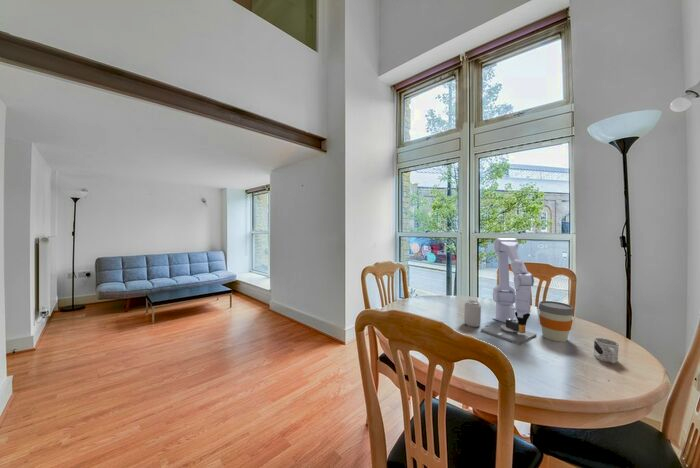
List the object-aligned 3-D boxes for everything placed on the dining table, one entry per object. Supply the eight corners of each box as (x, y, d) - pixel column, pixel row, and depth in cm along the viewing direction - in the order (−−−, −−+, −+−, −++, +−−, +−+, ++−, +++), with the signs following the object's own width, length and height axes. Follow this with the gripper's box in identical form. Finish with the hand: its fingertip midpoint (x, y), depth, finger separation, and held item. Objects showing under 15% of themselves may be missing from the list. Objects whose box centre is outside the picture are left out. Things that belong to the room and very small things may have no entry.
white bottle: (477, 322, 137) (477, 299, 137) (482, 328, 130) (483, 304, 130) (462, 321, 138) (462, 299, 138) (467, 327, 131) (467, 303, 130)
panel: (498, 324, 135) (498, 321, 135) (536, 336, 121) (536, 333, 121) (481, 331, 126) (481, 328, 126) (519, 345, 112) (519, 342, 112)
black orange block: (497, 328, 127) (497, 317, 127) (507, 326, 129) (508, 315, 129) (518, 337, 117) (518, 325, 117) (529, 335, 119) (529, 323, 119)
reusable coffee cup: (573, 337, 120) (574, 304, 119) (571, 346, 111) (573, 311, 110) (539, 329, 129) (540, 299, 128) (535, 337, 119) (536, 304, 119)
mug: (590, 352, 105) (591, 336, 105) (612, 356, 103) (613, 339, 102) (601, 364, 96) (602, 347, 96) (626, 369, 94) (627, 351, 93)
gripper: (515, 294, 128) (514, 321, 129) (509, 301, 117) (509, 331, 118) (532, 297, 124) (531, 325, 124) (528, 304, 113) (527, 335, 113)
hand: (521, 328), depth 121 cm, fingers closed, pressing on black orange block
